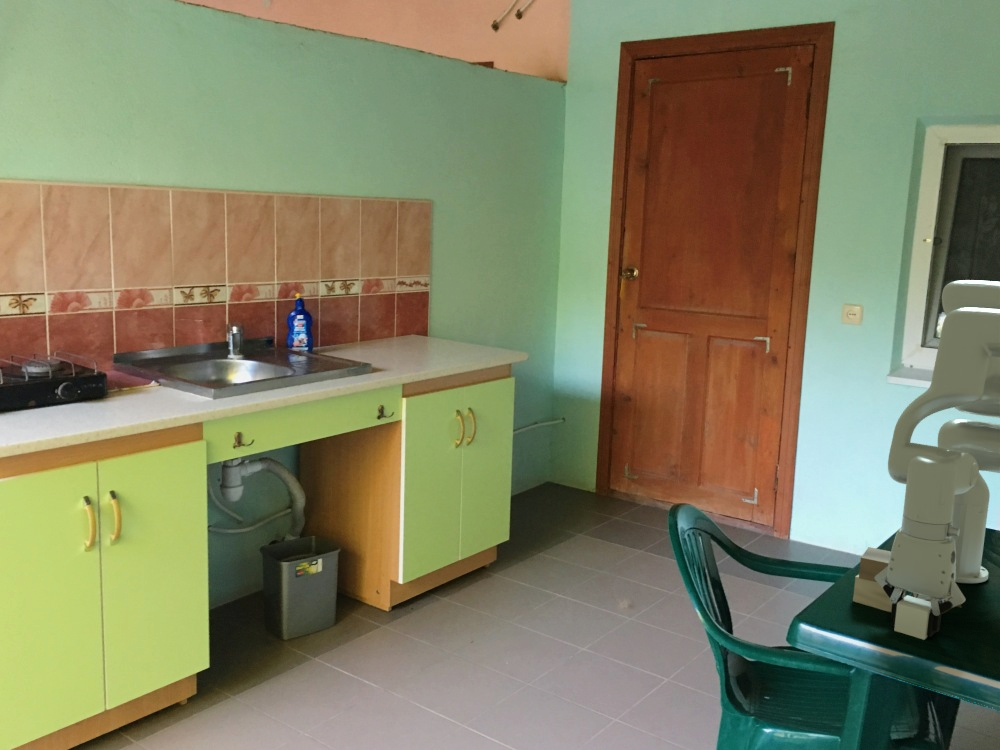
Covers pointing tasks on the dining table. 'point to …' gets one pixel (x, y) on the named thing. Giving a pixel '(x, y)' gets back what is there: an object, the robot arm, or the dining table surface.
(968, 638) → the dining table surface
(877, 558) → the walnut block
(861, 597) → the oak block
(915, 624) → the ivory cube
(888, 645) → the dining table surface
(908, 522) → the robot arm
